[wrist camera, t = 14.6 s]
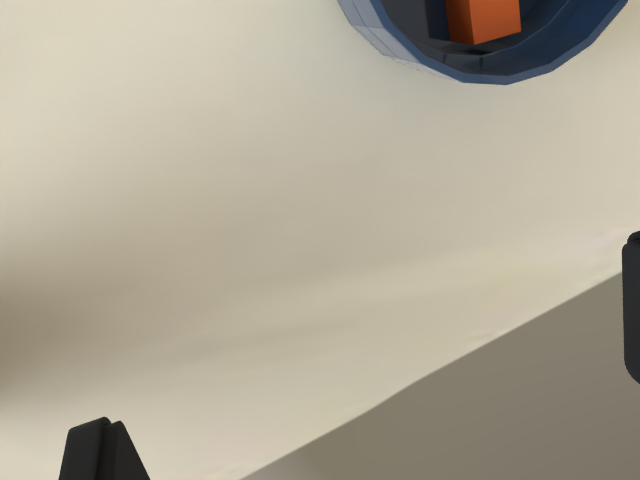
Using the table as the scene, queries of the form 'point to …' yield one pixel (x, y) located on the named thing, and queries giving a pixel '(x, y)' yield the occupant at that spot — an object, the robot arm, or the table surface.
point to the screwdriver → (482, 20)
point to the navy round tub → (489, 57)
